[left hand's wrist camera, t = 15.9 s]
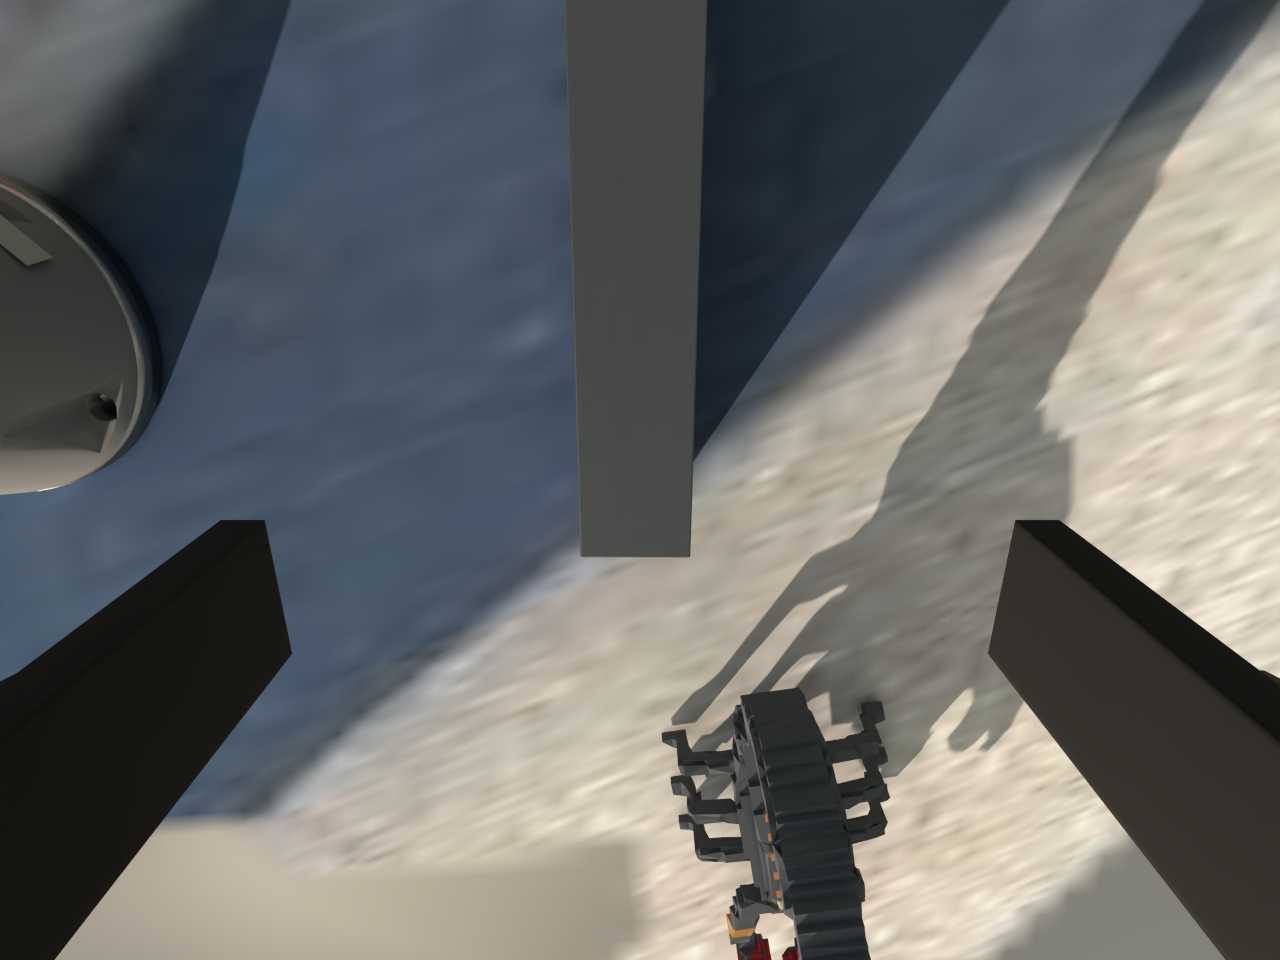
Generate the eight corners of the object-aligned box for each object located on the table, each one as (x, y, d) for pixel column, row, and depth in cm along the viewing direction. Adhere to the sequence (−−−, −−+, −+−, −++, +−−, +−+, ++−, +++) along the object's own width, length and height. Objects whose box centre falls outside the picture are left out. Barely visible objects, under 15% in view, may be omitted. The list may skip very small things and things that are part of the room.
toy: (872, 570, 40) (1046, 844, 23) (895, 909, 49) (1031, 1283, 32) (635, 606, 41) (633, 897, 24) (703, 933, 50) (735, 1310, 33)
